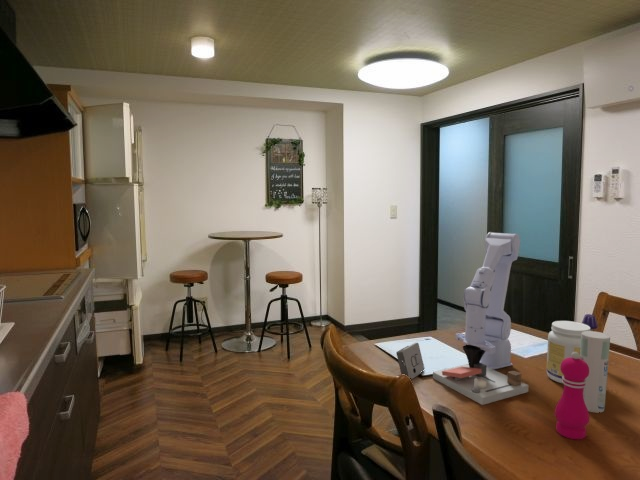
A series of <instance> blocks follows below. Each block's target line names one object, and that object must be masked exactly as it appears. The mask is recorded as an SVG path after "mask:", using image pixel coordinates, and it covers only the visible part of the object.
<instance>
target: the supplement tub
mask: <svg viewBox="0 0 640 480" xmlns="http://www.w3.org/2000/svg"><path fill="white" fill-rule="evenodd" d="M550 328H551V331H549V332H548V335H547V351H546V352H547V353H546V354H547V355H546V370H545V372H546V375H547V376H548V378H549V379H551V380H552V381H555V382H556V383H560V384H563V383H562V376H564V375H563V374H562V372H561V370H560V366H561V363H562V361H563V360H564V359H566V358H569V357H571V354H572V353H573V352H578V353H579V355H580V351H581V334H582V332H584V331H590V327H589V326H588V325H585V324H582V322H577V321H571V320H555V321H553V322H552V323H551V327H550ZM579 359H580V358H579Z"/></svg>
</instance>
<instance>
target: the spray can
mask: <svg viewBox="0 0 640 480" xmlns="http://www.w3.org/2000/svg"><path fill="white" fill-rule="evenodd" d="M610 344H611V336H610V335H608V334H607V333H605V332H600V331H584V332H582V334H581V351H580V359H582V360H583V361H585V362H586V363H587V365H588V367H589V375H588V377H587V378H585V380H586V387H584V390H583V398H584V402H585V405H586V407H587V409H588V413H589V412H590V413H597V414H599V412H600V413H603V412H605V408H606V407H605V406H606V395H607V385H608V383H607V382H608V381H607V380H608V370H609V369H608V368H609V359H610Z"/></svg>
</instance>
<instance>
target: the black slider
mask: <svg viewBox="0 0 640 480" xmlns="http://www.w3.org/2000/svg"><path fill="white" fill-rule="evenodd" d="M474 368H478V369H481V370H482V373H480V374H476V376H478V377H482V376H486V368H487V365H485V364H483V363H476V364H474Z"/></svg>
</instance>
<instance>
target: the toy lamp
mask: <svg viewBox="0 0 640 480" xmlns="http://www.w3.org/2000/svg"><path fill="white" fill-rule="evenodd" d="M581 323H582V324H585V325H588V326H589V327H590V331H593V330H597V329H598V322H597V318H596V316H595V315H594V314H590V313H589V314H584V316H583V320H582V322H581Z"/></svg>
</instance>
